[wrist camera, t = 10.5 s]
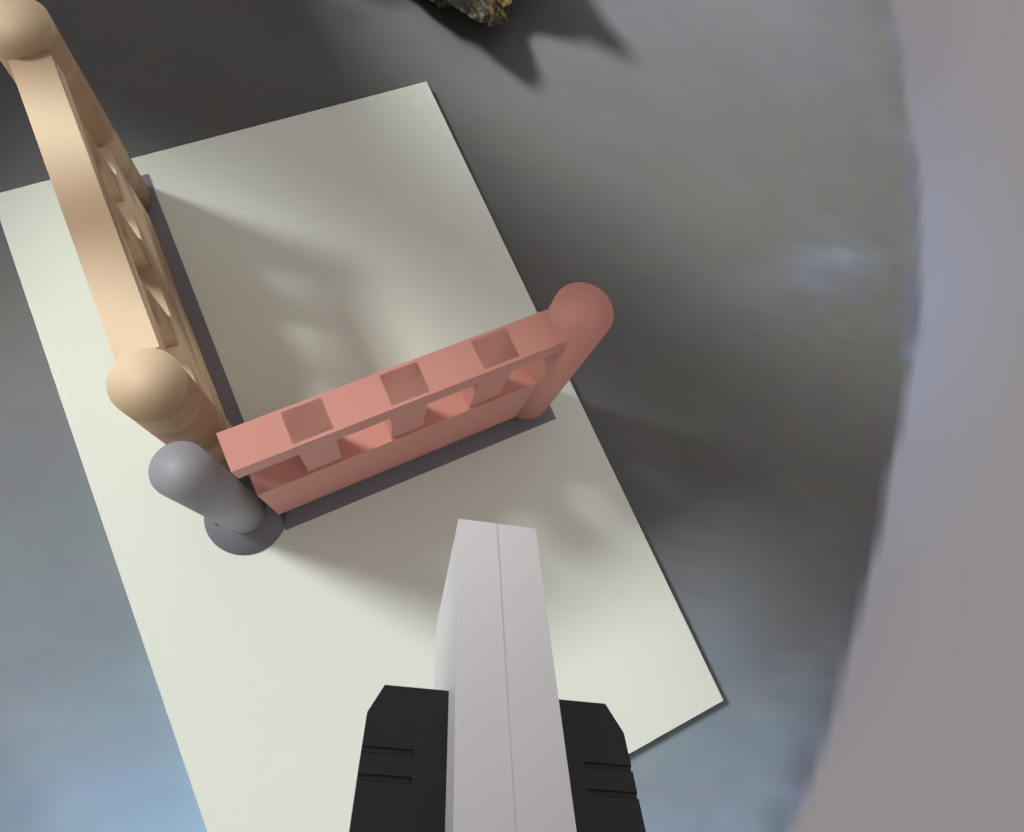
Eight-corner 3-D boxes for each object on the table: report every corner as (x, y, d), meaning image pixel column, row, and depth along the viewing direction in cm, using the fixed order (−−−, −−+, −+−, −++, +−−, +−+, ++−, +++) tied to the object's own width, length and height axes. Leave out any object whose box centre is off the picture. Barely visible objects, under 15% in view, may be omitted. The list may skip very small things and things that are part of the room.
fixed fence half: (97, 188, 31) (-31, 3, 22) (143, 175, 32) (40, -11, 22) (207, 488, 29) (119, 427, 19) (256, 469, 29) (194, 401, 20)
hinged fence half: (232, 544, 28) (157, 512, 19) (215, 498, 28) (132, 444, 19) (555, 409, 32) (624, 328, 22) (536, 370, 32) (596, 273, 23)
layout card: (-4, 200, 31) (-10, 194, 30) (426, 87, 36) (426, 80, 35) (255, 961, 25) (253, 967, 25) (719, 699, 30) (724, 700, 30)
